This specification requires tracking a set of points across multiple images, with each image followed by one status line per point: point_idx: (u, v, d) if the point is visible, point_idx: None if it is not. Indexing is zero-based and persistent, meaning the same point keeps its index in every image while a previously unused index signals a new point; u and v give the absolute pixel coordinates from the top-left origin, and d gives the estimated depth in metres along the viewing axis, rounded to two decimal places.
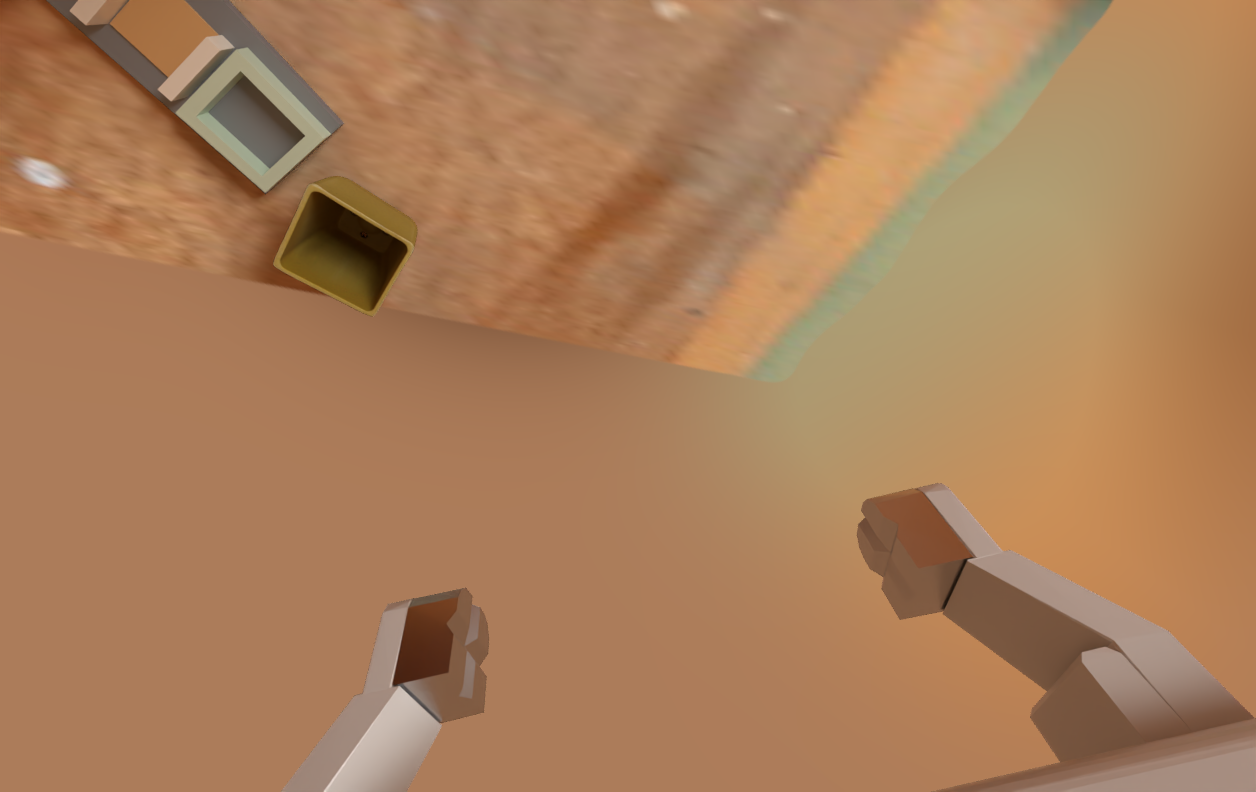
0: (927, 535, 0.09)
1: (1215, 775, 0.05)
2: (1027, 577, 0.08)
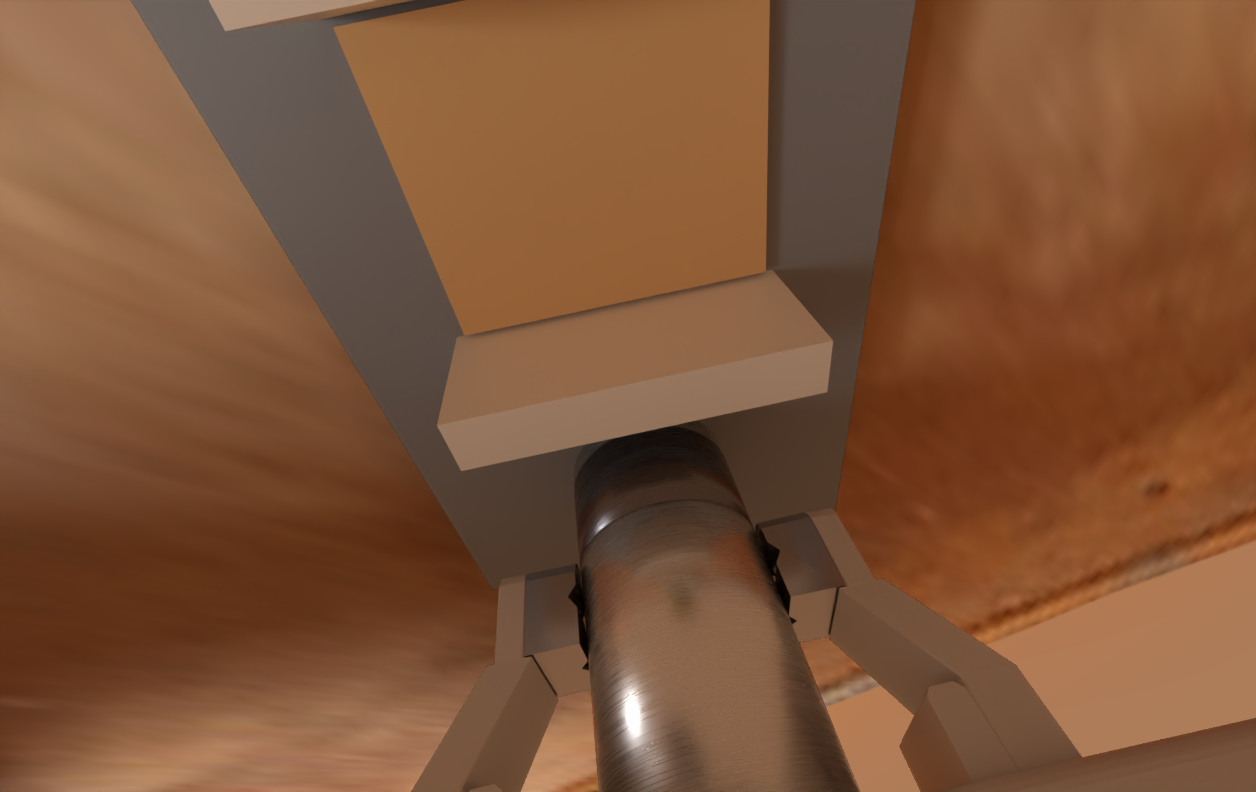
0: (805, 562, 0.09)
1: (1215, 775, 0.05)
2: (892, 607, 0.08)
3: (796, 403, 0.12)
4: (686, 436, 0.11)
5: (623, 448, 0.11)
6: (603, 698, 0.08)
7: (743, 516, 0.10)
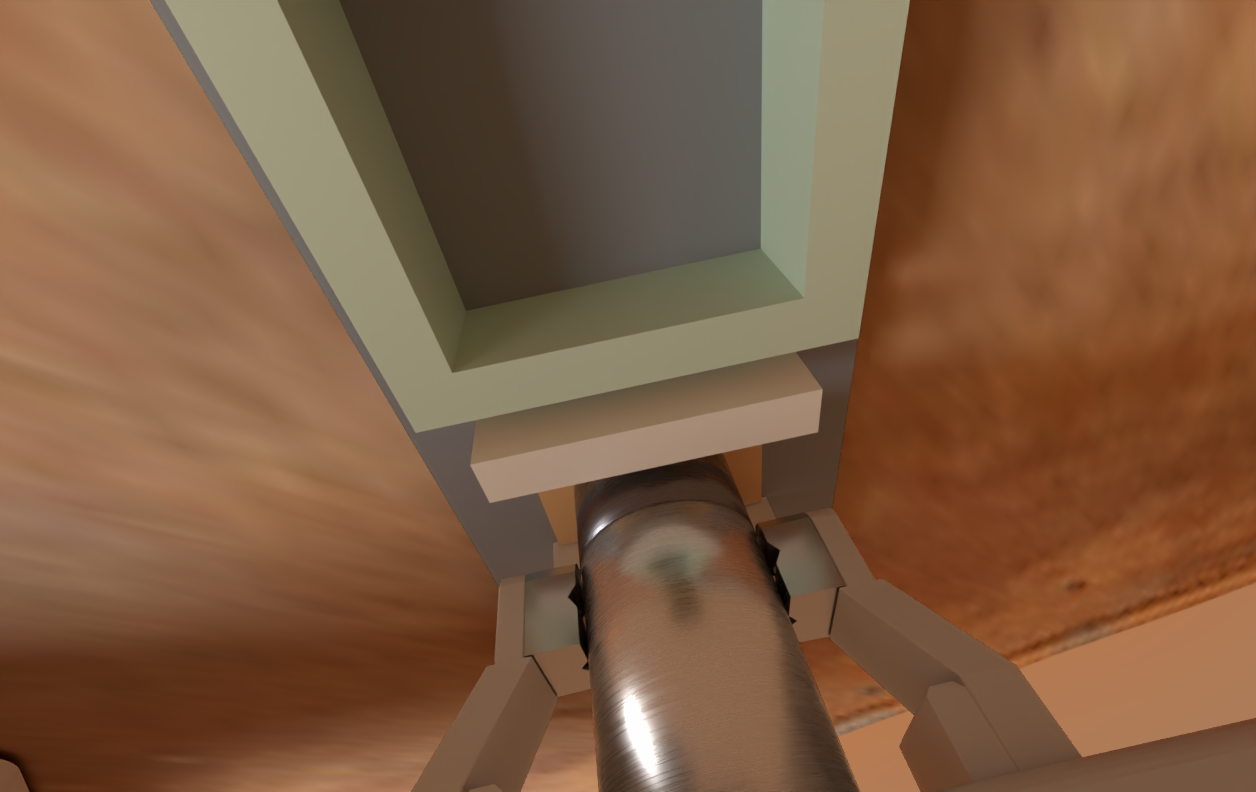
0: (805, 562, 0.09)
1: (1215, 775, 0.05)
2: (892, 607, 0.08)
3: None
4: None
5: None
6: (603, 698, 0.08)
7: (743, 516, 0.10)
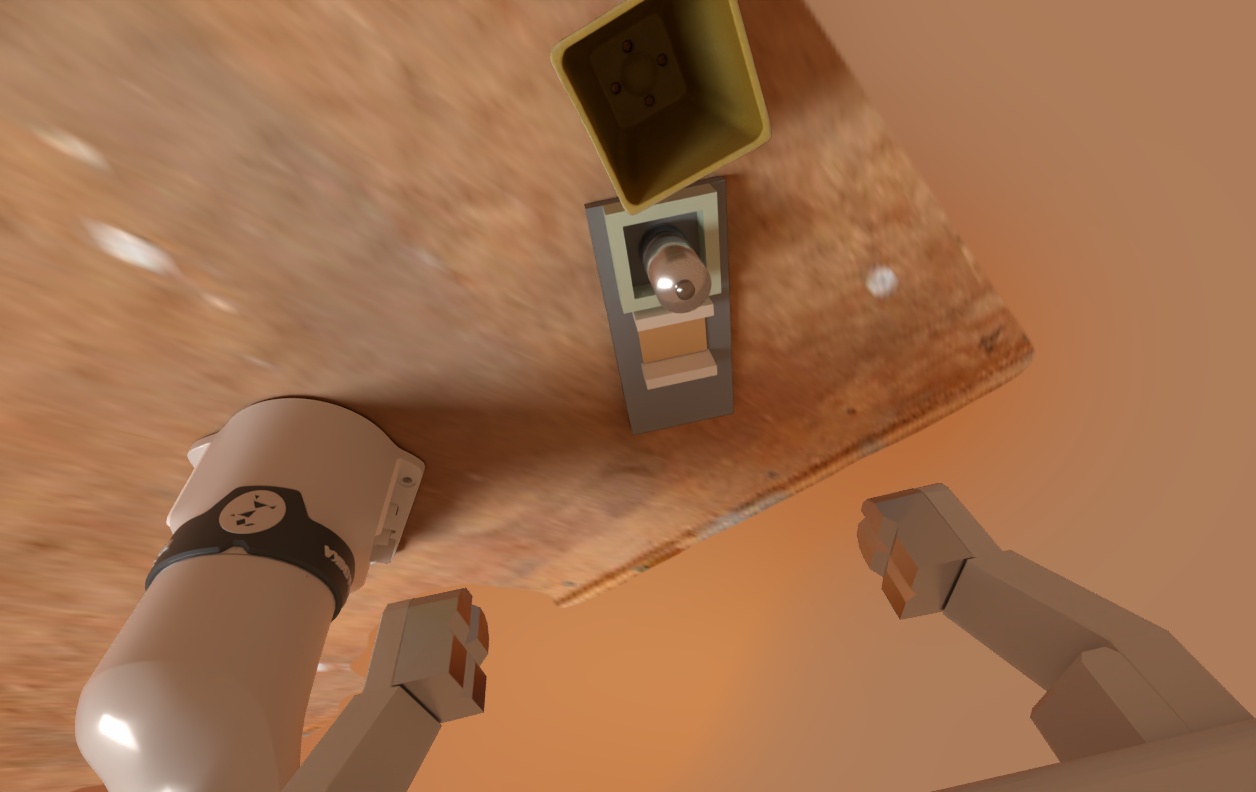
0: (927, 535, 0.09)
1: (1215, 775, 0.05)
2: (1027, 577, 0.08)
3: (717, 378, 0.47)
4: (674, 227, 0.37)
5: (655, 229, 0.36)
6: (654, 266, 0.33)
7: (689, 243, 0.36)
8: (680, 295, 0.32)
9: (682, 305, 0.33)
